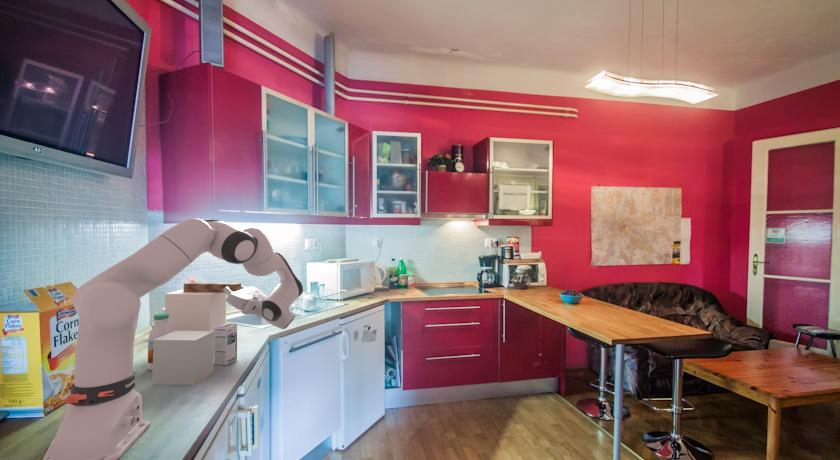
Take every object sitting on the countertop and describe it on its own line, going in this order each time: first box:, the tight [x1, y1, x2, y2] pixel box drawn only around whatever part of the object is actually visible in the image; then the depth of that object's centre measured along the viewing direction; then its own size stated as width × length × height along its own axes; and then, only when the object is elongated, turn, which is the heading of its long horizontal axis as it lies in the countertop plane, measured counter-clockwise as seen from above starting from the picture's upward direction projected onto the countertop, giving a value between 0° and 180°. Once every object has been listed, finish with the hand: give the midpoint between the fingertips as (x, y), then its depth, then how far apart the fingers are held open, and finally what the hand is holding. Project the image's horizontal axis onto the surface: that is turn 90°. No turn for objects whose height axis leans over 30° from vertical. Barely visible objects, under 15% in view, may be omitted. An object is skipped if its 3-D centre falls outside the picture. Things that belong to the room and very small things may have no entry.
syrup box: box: [214, 323, 238, 366], centre depth 137 cm, size 6×6×14 cm
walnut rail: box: [183, 282, 242, 293], centre depth 147 cm, size 22×4×4 cm, turn 91°
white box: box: [164, 288, 227, 332], centre depth 147 cm, size 18×12×26 cm, turn 91°
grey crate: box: [151, 331, 215, 386], centre depth 122 cm, size 14×11×15 cm
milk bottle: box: [147, 312, 173, 372], centre depth 131 cm, size 8×8×20 cm
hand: (229, 286), depth 147 cm, fingers open, 7 cm apart
